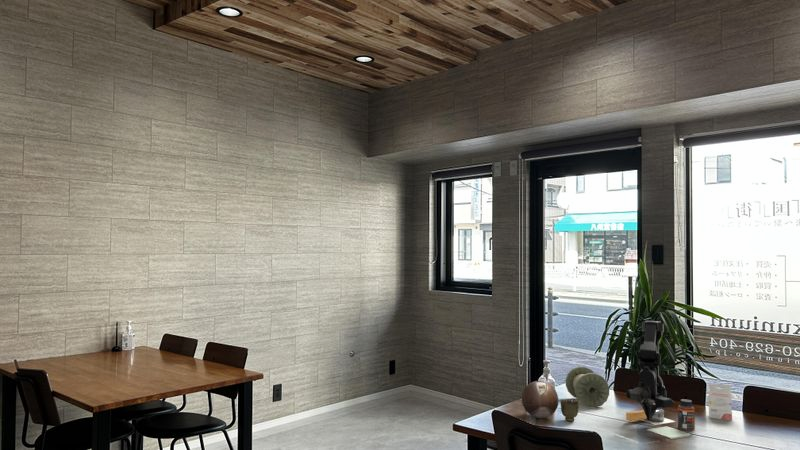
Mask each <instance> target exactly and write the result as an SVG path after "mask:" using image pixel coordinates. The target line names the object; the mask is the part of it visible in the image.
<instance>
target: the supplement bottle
mask: <svg viewBox="0 0 800 450" xmlns="http://www.w3.org/2000/svg"><path fill="white" fill-rule="evenodd" d="M695 412H696V411H695V406H693V401H692V400H691V399H685V398H683V399H680V404H678V406H677V428H679V429H680V430H683V431H695V427H696V426H695V425H696V421H695V420H696V417H695Z"/></svg>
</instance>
